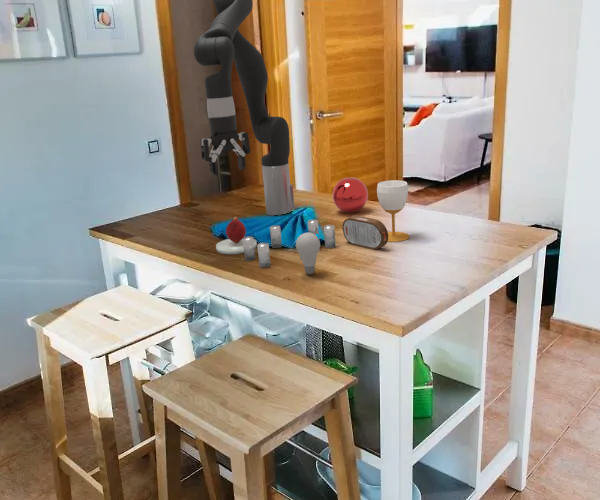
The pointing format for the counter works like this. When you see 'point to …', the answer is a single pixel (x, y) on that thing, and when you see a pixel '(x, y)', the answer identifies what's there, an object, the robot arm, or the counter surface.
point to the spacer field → (276, 242)
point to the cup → (393, 203)
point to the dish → (231, 247)
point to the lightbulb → (308, 250)
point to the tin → (365, 232)
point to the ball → (350, 195)
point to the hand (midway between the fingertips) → (228, 172)
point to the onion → (235, 230)
